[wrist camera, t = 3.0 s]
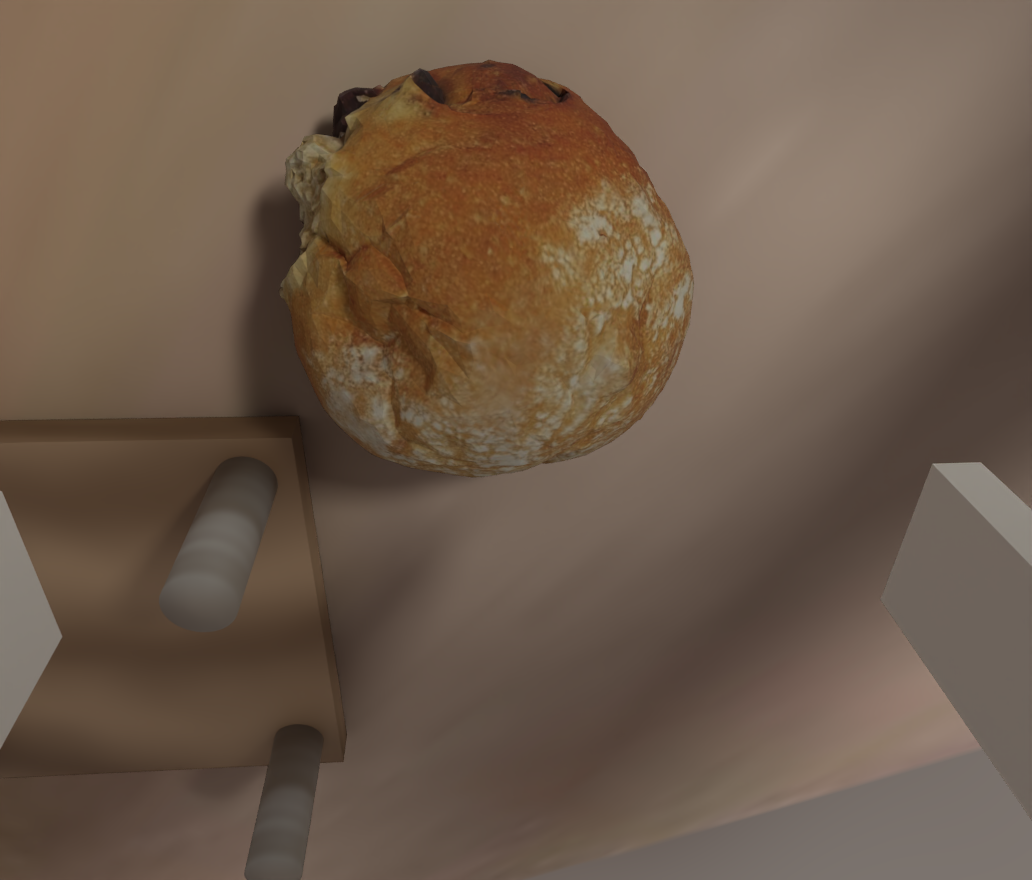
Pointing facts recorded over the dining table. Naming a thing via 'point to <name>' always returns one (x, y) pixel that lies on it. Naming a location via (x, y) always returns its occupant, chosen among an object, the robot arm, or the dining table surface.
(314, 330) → the bread roll
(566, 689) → the dining table surface
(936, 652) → the robot arm
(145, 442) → the trivet
